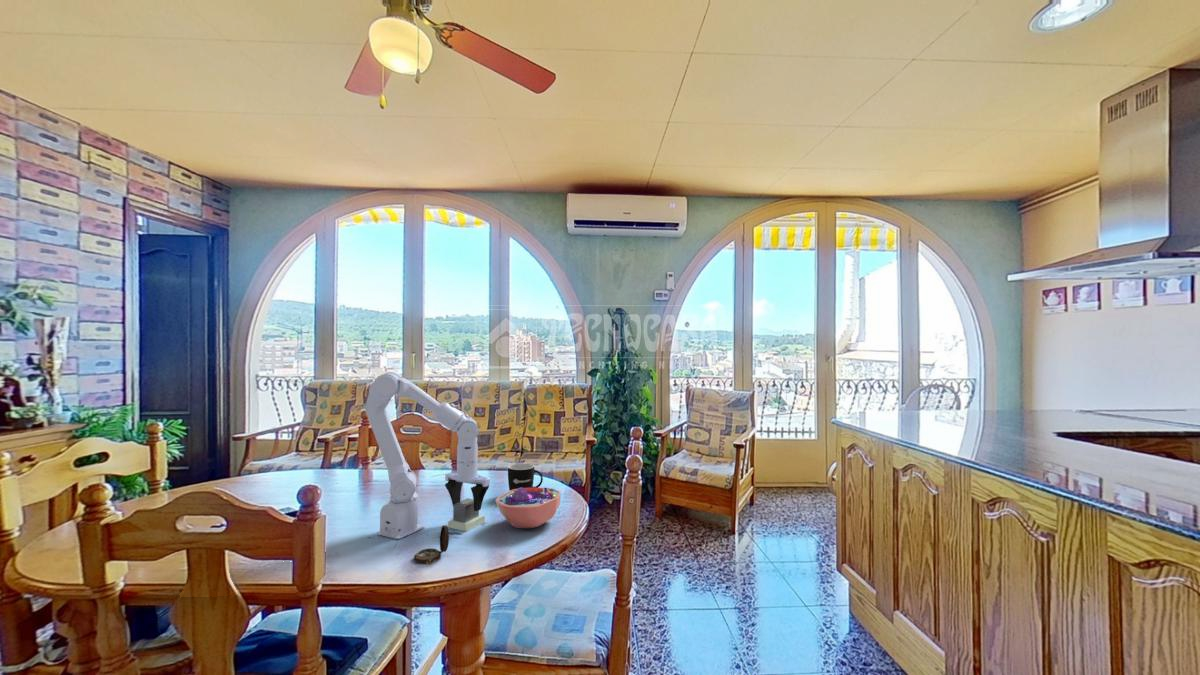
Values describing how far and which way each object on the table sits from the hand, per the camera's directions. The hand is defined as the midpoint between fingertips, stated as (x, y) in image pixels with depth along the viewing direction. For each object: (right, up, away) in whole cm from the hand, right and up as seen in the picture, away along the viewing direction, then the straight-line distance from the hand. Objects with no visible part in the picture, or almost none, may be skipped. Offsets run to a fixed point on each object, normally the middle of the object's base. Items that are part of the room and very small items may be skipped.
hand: (466, 508), depth 140 cm
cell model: (+18, -5, 0) cm, 19 cm away
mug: (+13, -5, +27) cm, 30 cm away
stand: (0, -5, 0) cm, 5 cm away
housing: (0, -3, 0) cm, 3 cm away
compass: (-2, -5, -22) cm, 23 cm away
